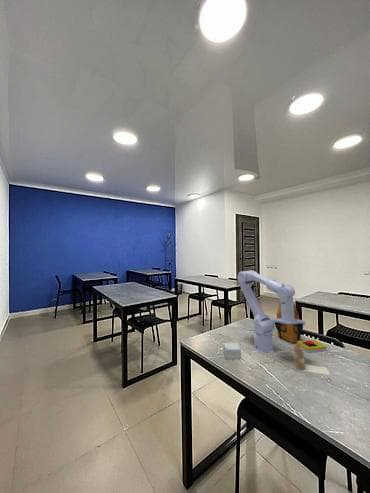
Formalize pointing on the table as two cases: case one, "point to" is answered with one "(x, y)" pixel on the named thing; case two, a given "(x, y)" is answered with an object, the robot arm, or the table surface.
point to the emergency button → (312, 346)
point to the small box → (232, 351)
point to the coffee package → (289, 327)
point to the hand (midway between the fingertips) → (289, 339)
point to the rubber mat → (316, 369)
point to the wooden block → (298, 357)
